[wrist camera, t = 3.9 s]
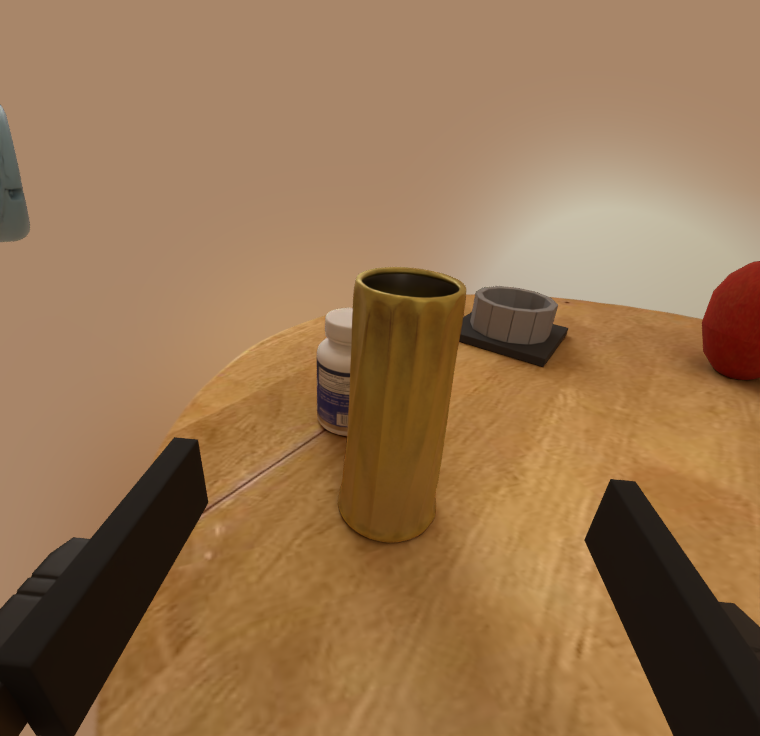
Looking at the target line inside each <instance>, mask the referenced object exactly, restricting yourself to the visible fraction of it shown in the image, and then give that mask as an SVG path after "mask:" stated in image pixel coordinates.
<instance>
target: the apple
mask: <svg viewBox="0 0 760 736" xmlns="http://www.w3.org/2000/svg"><path fill="white" fill-rule="evenodd" d="M702 336H703V352H704V354H705V355H706V357H707V359H708V360H709V362H710V364H711V365H712V367H713V368H714V369H715V370H716V371H717V372H719V373H720V374H722V375H724V376H727V377H729V378H734V379H738V380H751V379H757V378H760V261H757V262H752V263H750V264H748V265H746V266H744V267H742V268H740V269H738V270H736V271H735V272H733V273H731V274H729V275H728V276H727V278H726V279H725V280H724V281H723V282H722V283H721V284H720V285H719V286H718V287H717V288H716V289H715V290H714V291H713V294H712V297H711V299H710V302H709V304H708V307H707V310H706V312H705V315H704V318H703V321H702Z"/></svg>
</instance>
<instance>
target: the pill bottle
mask: <svg viewBox="0 0 760 736" xmlns="http://www.w3.org/2000/svg"><path fill="white" fill-rule="evenodd" d="M352 312H353V308H340V309H336V310H332V311H330V312H329V313H328V314H327V315H326V318H325V335H326V337H327V338H326V339H324V340H323V341H322V342H321V343H320V345H319V347H318V349H317V417H318V420H319V423H320V424H321V425H322V426H323V427H324V428H325V429H326V430H328V431H330V432H332V433H335V434H338V435H343V436H347V430H348V411H349V392H350V364H351V340H352Z"/></svg>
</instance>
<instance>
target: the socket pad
mask: <svg viewBox="0 0 760 736" xmlns="http://www.w3.org/2000/svg"><path fill="white" fill-rule="evenodd" d="M557 307H558V304H557V303H556V302H555V301H554V300H553V299H552V298H550V297H547V296H545V295H542V294H540V293H538V292H537V293H536V292H534V291H529V290H525V289H520V288H514V287H502V286H499V287H498V286H496V287H484V288H481V289H480V290H478V291H476V293H475V299H474V304H473V310H472V312H471V313H470V314H468V315H467V316H465V317H464V318H463V322H462V328H461V334H460V339H459V342H463V343H466V344H469V345H472V346H476V347H479V348H482V349H486V350H489V351H492V352H495V353H499V354H502V355H505V356H509V357H512V358H515V359H518V360H522V361H525V362H528V363H532V364H535V365H538V366H541V367H544V365H545V364H546V362H547V361H548V360H549V358H550V357H551V356H552V354H553V353H554V351H555V350H556V349H557V347H558V346H559V344H560V343H561V342H562V340H563V339H564V337H565V336H566V334H567V331H568V328H566V327H562V326H558V325H554V324H553V321H554V318H555V314H556V311H557Z"/></svg>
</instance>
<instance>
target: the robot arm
mask: <svg viewBox="0 0 760 736" xmlns="http://www.w3.org/2000/svg"><path fill="white" fill-rule="evenodd" d="M29 230H30V222H29V217H28V211H27V206H26V202H25V198H24V193H23V187H22V183H21V177H20V173H19V168H18V163H17V159H16V154H15V150H14V146H13V141H12V137H11V133H10V129H9V125H8V121H7V117H6V114H5V112H4V109H3V107H2V106H1V105H0V242H10V241H18V240H21V239H23V238H24V237H26V236H27V234H28V233H29ZM207 504H208V497H207V491H206V485H205V479H204V473H203V467H202V461H201V455H200V449H199V443H198V440H196V439H185V438H175V437H174V439H173V440H172V441H171V442H170V443H169V445H168V446H167V447H166V448H165V449H164V451H163V452H162V453H161V454H160V455H159V457H158V458H157V459H156V460H155V461H154V463H153V464H152V465H151V466H150V468H149V469H148V470H147V471H146V472H145V474H144V475H143V476H142V477H141V478H140V480H139V481H138V482H137V483H136V484H135V486H134V487H133V488H132V489H131V490H130V492H129V493H128V494H127V495H126V497H125V498H124V499H123V500H122V501H121V503H120V504H119V505H118V506H117V507H116V509H115V510H114V511H113V512H112V513H111V515H110V516H109V517H108V519H106V521H105V522H104V523H103V524H102V526H101V527H100V528H99V529H98V530H97V532H96V533H95V534H94V535H93V536H92V538H91V539H84V538H75V537H73V538H72V539H71V540H69V541H67V542H66V543H64V544H63V545H62V546H60V547H59V548H57V549H56V550H55V551H53V552H52V553H50V554H49V555H48V557H47V558H46V559H45V560H44V561H43V562H42V563H41V564H40V565H39V567H38V568H37V569H36V570H35V571H34V572H33V573H32V576H31V578H28V579H27V580H26V581H25V582H24V583H23V584H22V586H21V587H20V588H19V589H18V590H17V593H16V594H15V595H13V596H12V597H11V598H10V599H9V600H8V601H7V602H6V603H5V604H4V606H3V607H2V608H1V609H0V736H19V734H20V733H21V731H22V730H23V728H24V727H25V725H26V724H27V722H28V724H29V725H30V727H31V728H32V730H33V731H34V733H35V734H36V736H74V735H75V734H76V732H77V730H78V729H79V727H80V725H81V723H82V722H83V720H84V718H85V716H86V715H87V713H88V711H89V710H90V708H91V706H92V704H93V703H94V701H95V699H96V697H97V696H98V694H99V692H100V690H101V689H102V687H103V685H104V683H105V682H106V680H107V678H108V676H109V675H110V673H111V671H112V670H113V668H114V666H115V664H116V663H117V661H118V659H119V657H120V656H121V654H122V652H123V650H124V649H125V647H126V645H127V643H128V642H129V640H130V638H131V636H132V635H133V633H134V631H135V630H136V628H137V626H138V624H139V623H140V621H141V619H142V617H143V616H144V614H145V612H146V610H147V609H148V607H149V605H150V603H151V602H152V600H153V598H154V596H155V595H156V593H157V591H158V590H159V588H160V586H161V584H162V583H163V581H164V579H165V577H166V576H167V574H168V572H169V570H170V569H171V567H172V565H173V563H174V562H175V560H176V558H177V556H178V555H179V553H180V551H181V550H182V548H183V546H184V544H185V543H186V541H187V539H188V537H189V536H190V534H191V532H192V530H193V529H194V527H195V525H196V523H197V522H198V520H199V518H200V516H201V515H202V513H203V511H204V510H205V508H206V506H207ZM585 542H586V545H587V547H588V549H589V551H590V553H591V556H592V558H593V560H594V562H595V564H596V567H597V569H598V571H599V573H600V575H601V578H602V580H603V582H604V584H605V586H606V589H607V591H608V593H609V595H610V597H611V600H612V602H613V604H614V606H615V608H616V611H617V613H618V615H619V617H620V619H621V622H622V624H623V626H624V628H625V630H626V633H627V635H628V637H629V639H630V641H631V644H632V646H633V648H634V650H635V652H636V655H637V657H638V659H639V661H640V663H641V666H642V668H643V670H644V672H645V674H646V676H647V679H648V681H649V683H650V685H651V687H652V690H653V692H654V694H655V696H656V698H657V701H658V703H659V705H660V707H661V709H662V712H663V714H664V716H665V718H666V720H667V723H668V725H669V727H670V729H671V731H672V734H673V736H760V627H759V626H758V625H757V624H756V623H755V622H754V621H753V620H752V619H751V618H750V617H748V616H747V615H746V614H745V613H744V612H743V611H742V610H741V609H740V608H739V607H737V606H736V605H735V604H734V603H725V602H718V600H717V599H716V597H715V596H714V595H713V593H712V592H711V590H710V589H709V587H708V586H707V584H706V583H705V582H704V580H703V579H702V577H701V576H700V574H699V573H698V571H697V570H696V569H695V567H694V566H693V564H692V563H691V561H690V560H689V558H688V557H687V556H686V554H685V553H684V551H683V550H682V548H681V547H680V545H679V544H678V543H677V541H676V540H675V538H674V537H673V535H672V534H671V532H670V531H669V530H668V528H667V527H666V525H665V524H664V522H663V521H662V519H661V518H660V517H659V515H658V514H657V512H656V511H655V509H654V508H653V506H652V505H651V504H650V502H649V501H648V499H647V498H646V496H645V495H644V493H643V492H642V491H641V489H640V488H639V486H638V485H637V483H636V482H635V481H625V480H614V479H610V482H609V484H608V486H607V489H606V491H605V493H604V496H603V498H602V500H601V503H600V505H599V507H598V510H597V512H596V514H595V517H594V519H593V521H592V524H591V526H590V528H589V530H588V533H587V535H586V537H585Z"/></svg>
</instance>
